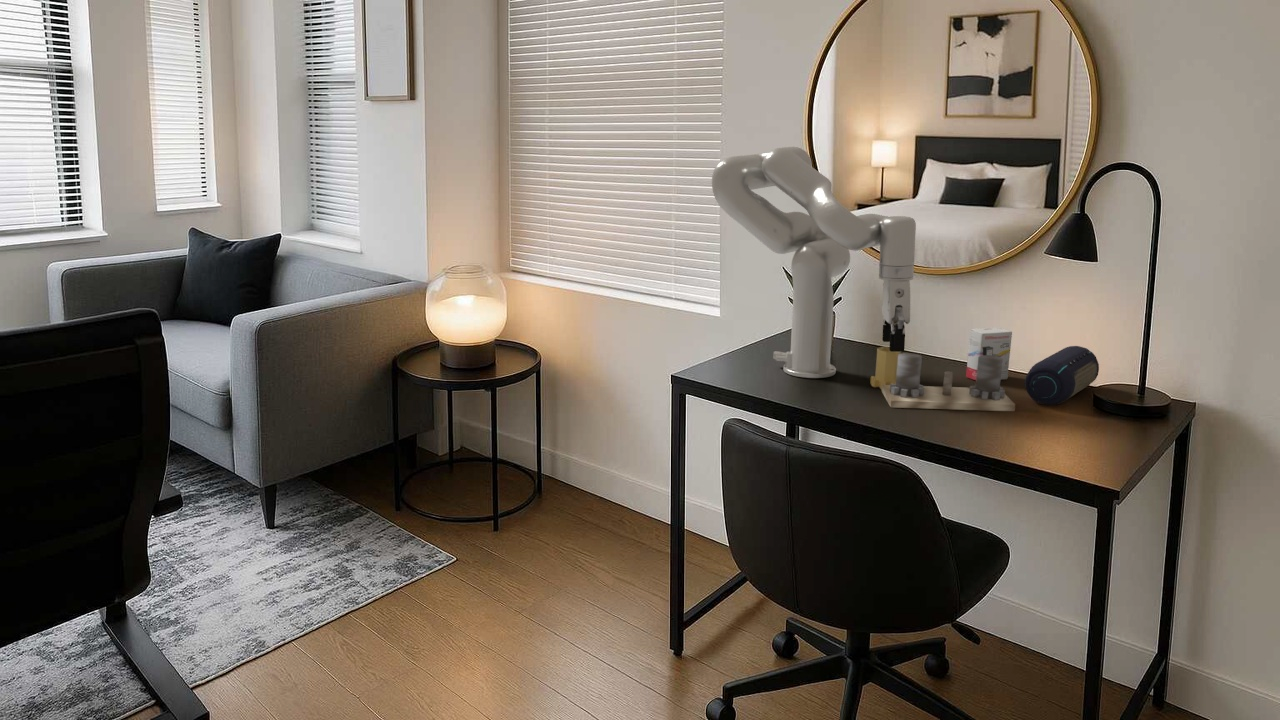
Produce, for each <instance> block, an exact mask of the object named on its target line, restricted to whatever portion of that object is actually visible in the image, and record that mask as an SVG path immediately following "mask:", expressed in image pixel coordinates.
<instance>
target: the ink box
mask: <svg viewBox="0 0 1280 720" xmlns="http://www.w3.org/2000/svg"><path fill="white" fill-rule="evenodd" d="M1012 337H1013V331H1011V330H1008V329H1005V328H1002V327H984V328H983V327H982V328H971V329H969V341H968V342H969V343H968V351H967V352H968V353H967V364H966V371H965V372H966V373H965V377H966V378H968V379H971V380H973V381H976V377H977V367H978V357H979V356H982V355H991V356H997V357H1001V358H1002V359H1003V363H1002V372H1001V380H1007V379H1008V376H1009V366H1010V356H1011V348H1012V347H1011V346H1012Z"/></svg>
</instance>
